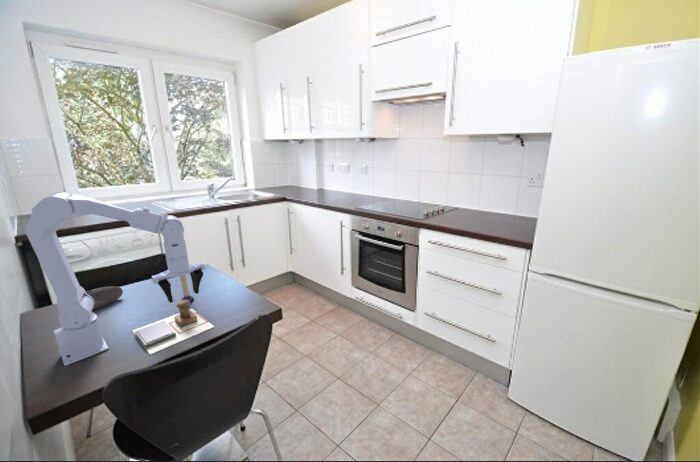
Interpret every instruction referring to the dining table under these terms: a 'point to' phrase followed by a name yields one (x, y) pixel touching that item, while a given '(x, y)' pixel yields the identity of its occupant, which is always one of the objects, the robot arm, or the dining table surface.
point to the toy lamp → (185, 289)
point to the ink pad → (155, 334)
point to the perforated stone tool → (105, 295)
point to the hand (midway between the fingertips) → (183, 296)
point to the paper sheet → (179, 331)
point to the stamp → (185, 314)
